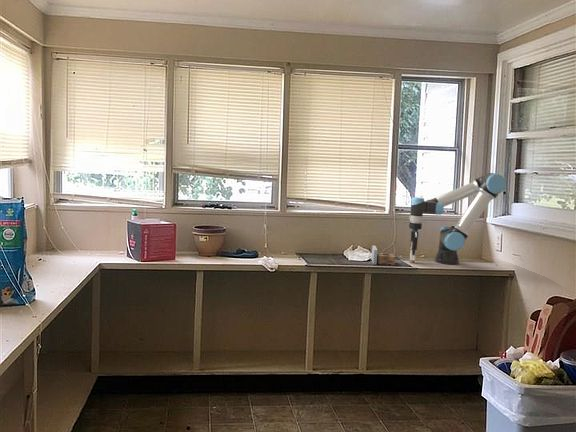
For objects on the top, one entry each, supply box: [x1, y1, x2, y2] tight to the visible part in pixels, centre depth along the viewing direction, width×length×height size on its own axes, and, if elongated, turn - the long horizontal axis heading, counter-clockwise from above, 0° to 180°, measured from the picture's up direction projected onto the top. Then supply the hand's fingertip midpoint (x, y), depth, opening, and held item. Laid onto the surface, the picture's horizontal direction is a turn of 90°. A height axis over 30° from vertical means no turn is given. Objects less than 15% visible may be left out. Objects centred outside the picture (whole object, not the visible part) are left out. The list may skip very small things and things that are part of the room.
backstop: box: [370, 245, 379, 266], centre depth 371 cm, size 2×16×9 cm, turn 177°
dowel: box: [408, 241, 416, 264], centre depth 378 cm, size 3×3×13 cm
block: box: [377, 252, 396, 266], centre depth 371 cm, size 10×10×5 cm
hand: (412, 259), depth 378 cm, fingers closed on dowel, 3 cm apart
